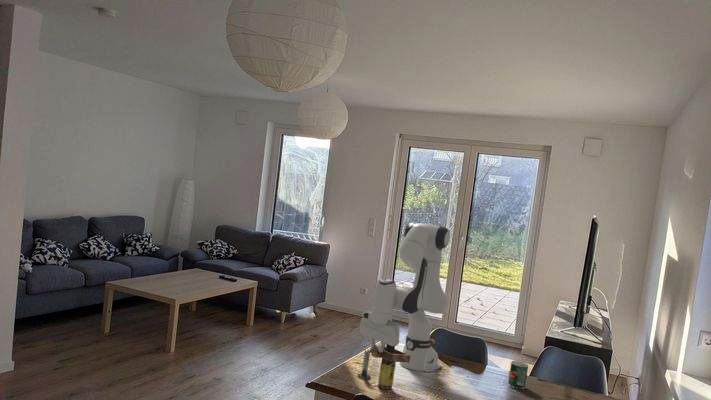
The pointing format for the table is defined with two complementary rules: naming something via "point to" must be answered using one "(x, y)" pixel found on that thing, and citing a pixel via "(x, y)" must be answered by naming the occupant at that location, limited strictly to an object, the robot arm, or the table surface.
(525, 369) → the canned tomato
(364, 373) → the grey plunger shape
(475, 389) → the table surface
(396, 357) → the wooden frame with handle
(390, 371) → the sauce bottle
